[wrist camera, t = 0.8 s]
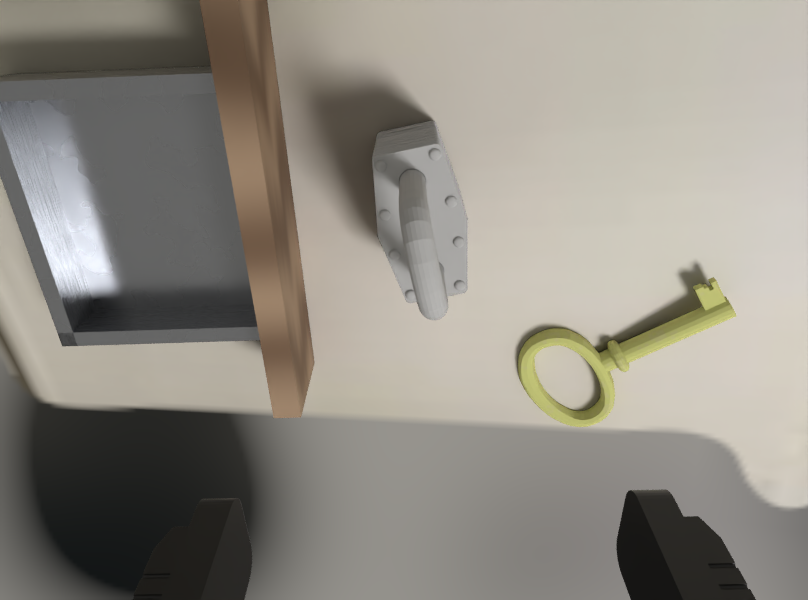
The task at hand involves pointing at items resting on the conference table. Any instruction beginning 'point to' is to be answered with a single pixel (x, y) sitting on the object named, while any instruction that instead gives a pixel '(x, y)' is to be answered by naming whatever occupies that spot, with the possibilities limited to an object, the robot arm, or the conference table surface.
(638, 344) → the key
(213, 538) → the robot arm
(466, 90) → the conference table surface
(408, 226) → the padlock
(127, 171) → the grey metal tray
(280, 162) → the door strip
